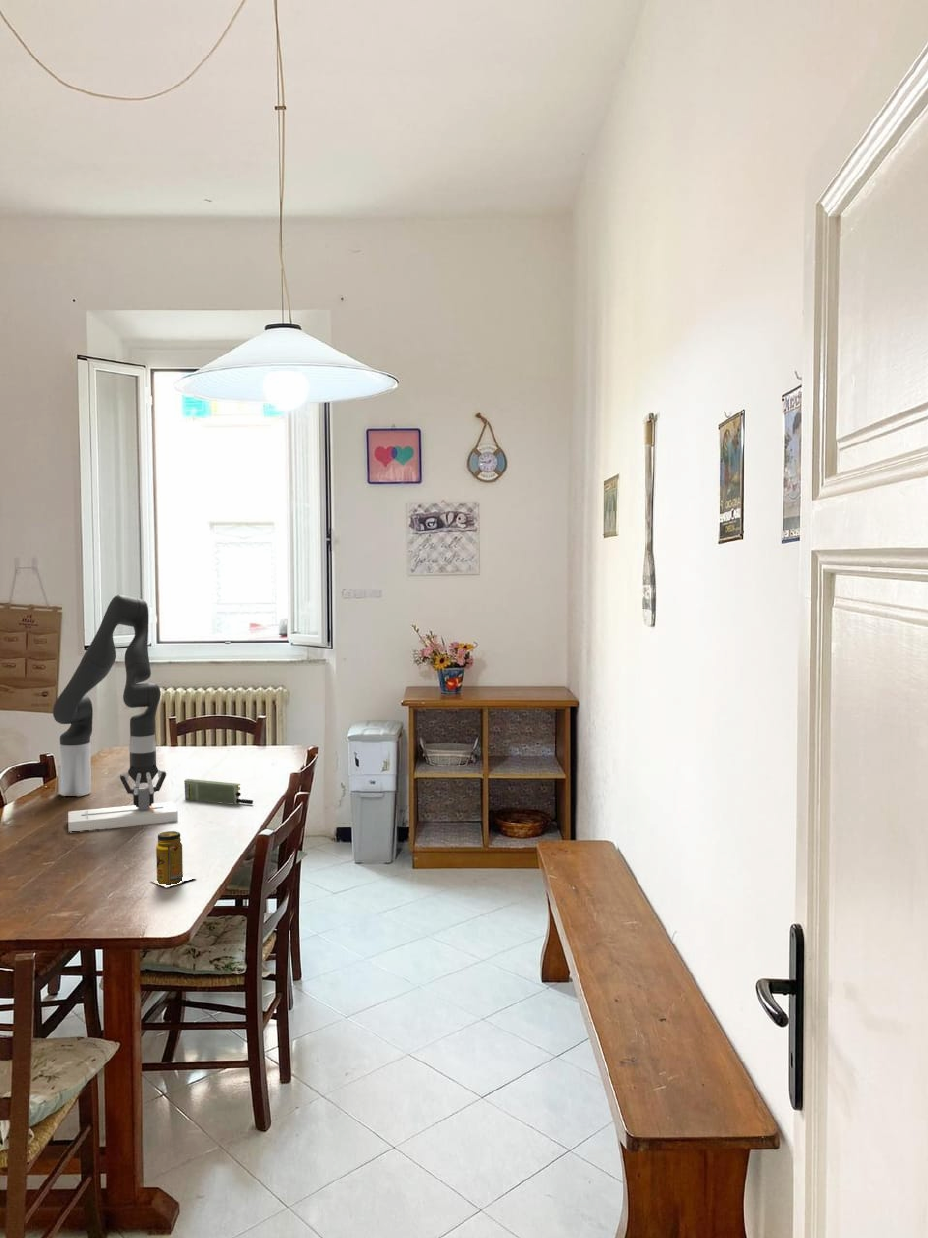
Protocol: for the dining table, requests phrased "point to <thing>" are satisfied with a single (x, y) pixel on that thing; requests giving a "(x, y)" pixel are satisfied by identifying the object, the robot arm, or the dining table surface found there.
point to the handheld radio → (213, 791)
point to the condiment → (169, 858)
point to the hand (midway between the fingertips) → (143, 805)
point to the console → (121, 816)
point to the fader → (143, 798)
